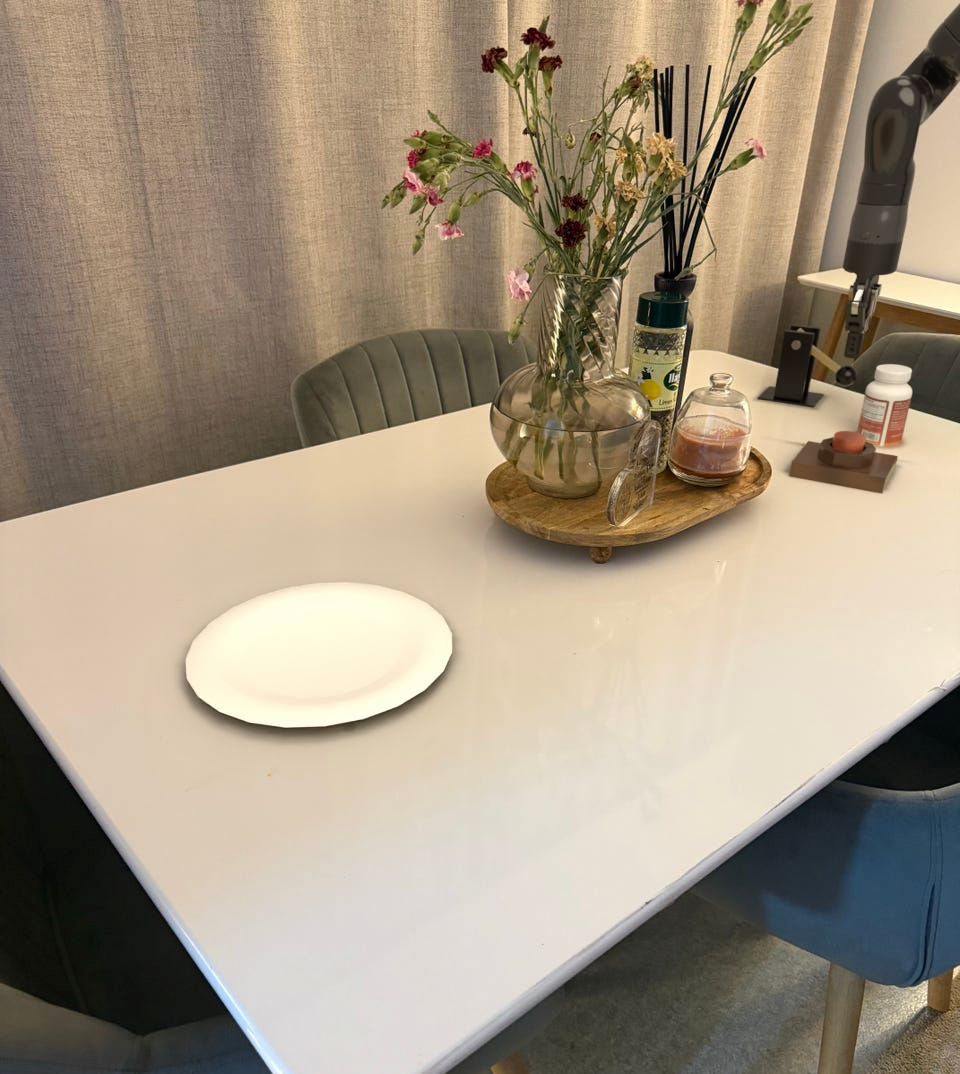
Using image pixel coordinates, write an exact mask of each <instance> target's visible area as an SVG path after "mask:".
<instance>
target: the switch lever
mask: <svg viewBox="0 0 960 1074" xmlns="http://www.w3.org/2000/svg"><path fill="white" fill-rule="evenodd" d="M797 331H801V332H805V331H804V330H803V329H801V328H800V329H798V330H797ZM813 340H814V339H813ZM811 355H812V356H814V357H815V360H817V361H819V362H820V363H821V364H823V365H824V366H825V367H826V368H828V369H829V370H831V371H832V372H833V373H834V374H835V375H834V379H835V382H836V384H837V385H839V386H841V387H850V386H852V385H853V384H854V383H855V382H856V380H857V377H858V372H857V370H856V368H855V367H854V366H852V365H848V364H845V365H842V366H841V365H840V364H838V363H837V362H836V360H835V361H834V360H833V358H831V357H830V356H828V355H827V354H826V353H824V352H823V351H821V350H820V349H819V348H818V347H817V348H816V347H815V346H814V345H812V350H811Z"/></svg>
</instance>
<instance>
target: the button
mask: <svg viewBox="0 0 960 1074" xmlns="http://www.w3.org/2000/svg"><path fill="white" fill-rule="evenodd" d="M833 437H834V438H833V443H832V448H834V449H837V450H839V451H845V452H861V451H863V449H864V445H865V440H866V437H865V436H864V435H863V434H860V433H857V432H856V431H852V430H840V431H836V432H835V433H834V434H833Z"/></svg>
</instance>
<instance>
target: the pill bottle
mask: <svg viewBox="0 0 960 1074" xmlns="http://www.w3.org/2000/svg"><path fill="white" fill-rule="evenodd" d="M912 373H913V370H912V368H911V367H909V366H906V365H903V364H896V363H895V364H893V363H884V364H879V365H877V366H876V368H875V371H874V376H873V377H874V380H873V381H871V382H870V383H869V384H867V386H866V388H865V392H864V397H863V401H862V407H861V411H860V415H859V416H860V417H859V421H858V424H857V425H858V426H857V433H860V434H863V435H864V436H865V437H866V440H865V441H866V442H869V443H871V444H872V445H873V446H877V447H892V446H897V445H899V444H901V443H902V440H903V436H904V431H905V427H906V423H907V418H908V416H909V415H908V414H909V410H910V406H911V402H912V397H913V388H912V387H911V385H909V384H908V382H909V381H910V380H911V378H912Z"/></svg>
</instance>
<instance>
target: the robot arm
mask: <svg viewBox="0 0 960 1074" xmlns="http://www.w3.org/2000/svg"><path fill="white" fill-rule="evenodd" d="M959 83H960V2H959V3H958V5H956V6H955V7H954V9H953V10H952V11H951V12H950V13H949V14H948V15H947V16H946V18H945V19H944V20H943V21H942V22H941V23H940V24H939V26H938V27H937V28H936V29H935V30H934V31H933V33H932V34H931V35H930V37H929V39H928V40H927V44H926V46H925V47H924V49H922V51H921V52H920V53H919V54H918V55H917V56H916V57H915V59H914V60H913V61H912V62H911V63H910V64H909V65H908V66H907V68H905V70H904V71H903V72H901V74H900V75H898V76H895V77H892V78H891V79H888V80H886V82H883V84H881V86H879V88H878V89H877V90H876V92H875V93H874V95H873V97H872V99H871V102H870V105H869V108H868V112H867V118H866V125H865V136H864V153H863V155H864V156H863V168H862V170H861V171H862V172H861V176H860V180H859V186H858V191H857V196H856V202H855V206H854V210H853V213H852V214H851V215H852V216H851V220H850V224H849V230H848V236H847V241H846V245H845V246H846V247H845V253H844V257H843V263H842V269H843V270H844V271H845V272H847V273H849V274H855V276H856V278H855V280H854V281H853V283H852V284H850V286H849V289H848V294H847V297H848V300H847V301H846V303H845V326H844V330H845V332H846V333H847V336H846V342H845V348H844V352H843V353H844V354H843V357H844V358H847V359H854V360H856V359H858V358H860V356H861V354H862V351H863V350H862V349H863V344H864V340H865V336H866V335H865V334H866V332H867V331H868V330H869V326H870V325H871V323H872V318H873V315H874V314H875V311H876V307H877V302H878V299H879V296H881V292H882V286H883V284H882V283H879V281H880V276H888V275H892V274H893V273H895V272H896V271H897V269H898V266H899V260H900V256H901V251H902V246H903V242H904V237H905V233H906V228H907V223H908V215H909V213H908V212H909V205H910V199H911V194H912V190H913V186H914V180H915V176H916V174H915V173H916V162H915V157H914V156H915V153H916V152H915V151H916V147H917V141H918V136H919V131H920V127H921V126H923V124H924V123H925V122H926V121H927V120H928V119H929V118H930V117H931V116H932V115H933V114H934V113H935V111H937V109H938V108H939V107H940V106H941V105H942V104H943V103H944V101H945V100H946V99H947V98H948V97H949V95H951V93H952V92H953V91H954V89H955V88H956V87H957V86H958V85H959Z"/></svg>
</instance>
